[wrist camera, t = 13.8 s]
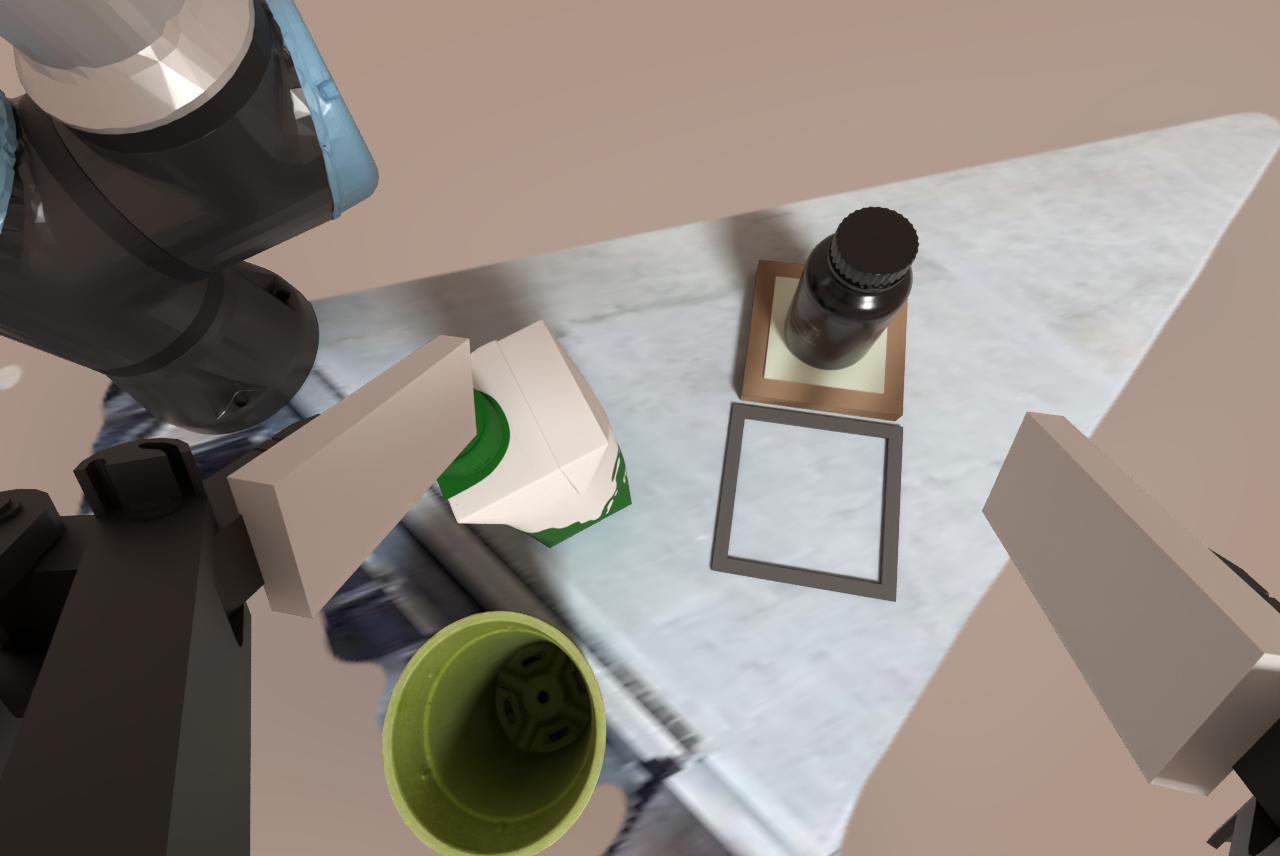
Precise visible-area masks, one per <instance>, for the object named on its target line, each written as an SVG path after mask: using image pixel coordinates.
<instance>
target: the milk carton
mask: <svg viewBox="0 0 1280 856" xmlns="http://www.w3.org/2000/svg"><path fill="white" fill-rule="evenodd" d="M470 356H471V369H472V381H473V394H474V407H475V419H476V432H477V435H476V436H475V437H474V438H473V439H472V440H471V441H470V443H469V444H468V445H467V446H466V447H465V448H464V449H463V450H462V452H461V453H460V454H459V455H458V456H457V457H456V458H455V459H454V461H453V462H452V463H451V464H450V465H449V466H448V467H447V468H446V469H445V471H444V472H443V473H442V474H441V475H440V476H439V477H438V478H437V481H438V484H439V486H440V489H441V491H442V494H443V496H444V498H445V500H448V501H449V503H450V506H451V508H452V511H453V513H454V516H455V518H456V520H457V522H458V523H475V524H506V525H509V526H511V527H513V528H516V529H518V530H520V531H523V532H525V533H526V534H528V535H530V536H531V537H533V538H534V539H536V540H538V541H539V542H541V543H542V544H544V545H546V546H547V547H549V548H551V547H553V546H554V545H556V544H558V543H560V542H562V541H564V540H565V539H567V538H569V537H571V536H573V535H575V534H577V533H578V532H580V531H582V530H584V529H586V528H588V527H590V526H591V525H593V524H595V523H597V522H599V521H601V520H602V519H604V518H606V517H608V516H610V515H612V514H614V513H615V512H617V511H619V510H621V509H623V508H625V507H627V506H628V505H630V504H632V502H631V497H630V491H629V485H628V479H627V473H626V467H625V462H624V459H623V456H622V453H621V450H620V448H619V445H618V443H617V440H616V438H615V435H614V433H613V430H612V428H611V425H610V423H609V421H608V418H607V416H606V414H605V412H604V410H603V408H602V406H601V404H600V403H599V401H598V400H597V398H596V397H595V395H594V393H593V392H592V390H591V388H590V386H589V384H588V383H587V381H586V380H585V378H584V377H583V375H582V374H581V372H580V371H579V370H578V368H577V367H576V365H575V364H574V363H573V361H572V360H571V359H570V357H569V356H568V354H567V353H566V352H565V350H564V349H563V348H562V346H561V345H560V343H559V342H558V341H557V339H556V338H555V337H554V335H553V334H552V332H551V331H550V330H549V328H548V327H547V325H546V324H545V322H544V321H543V320H542V319H541V320H539V321H537V322H535V323H533V324H531V325H529V326H527V327H525V328H523V329H521V330H519V331H517V332H515V333H513V334H511V335H509V336H507V337H505V338H503V339H501V340H499V341H497V340H493V341H491V342H488V343H486V344H484V345H483V346H481V347H479V348H477V349H476V350H475V351H473V352H471V353H470Z"/></svg>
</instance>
